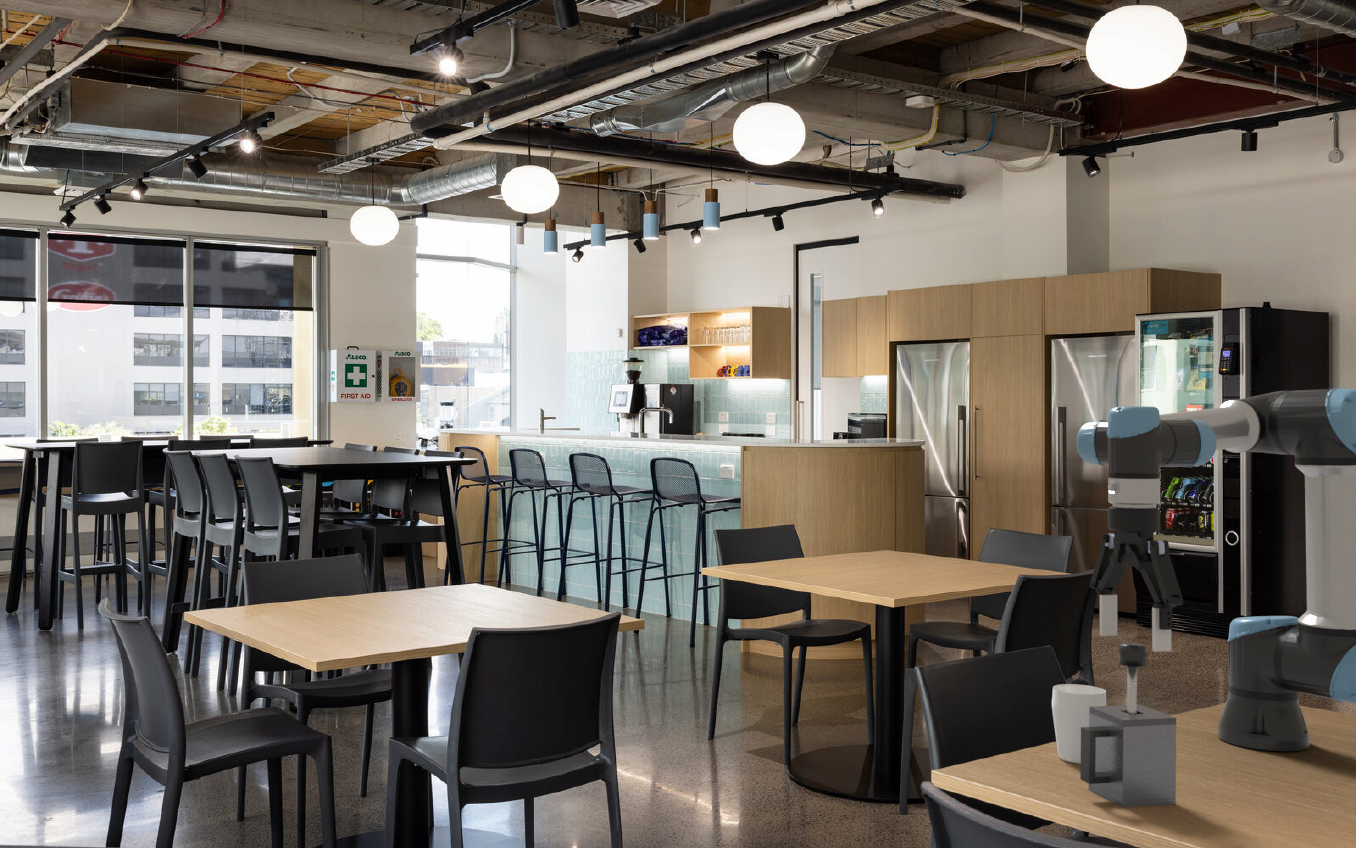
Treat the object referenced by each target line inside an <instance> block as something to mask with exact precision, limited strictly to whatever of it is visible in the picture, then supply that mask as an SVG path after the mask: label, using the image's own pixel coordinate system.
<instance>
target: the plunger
mask: <svg viewBox="0 0 1356 848" xmlns="http://www.w3.org/2000/svg"><path fill="white" fill-rule="evenodd" d="M1118 665H1121V666H1126V667H1127V672H1126V673H1127V674H1126V675H1127V679H1126V680H1127V681H1126V683H1127V685H1126V687H1127V688H1126V689H1127V691H1126V692H1127V693H1126V699H1127V700H1126V705H1127V714H1137V705H1138V668H1139V667H1142V668H1143V667H1146V666H1147V645H1146V644H1143V643H1138V642H1119V643H1118Z"/></svg>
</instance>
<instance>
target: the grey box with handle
mask: <svg viewBox="0 0 1356 848" xmlns="http://www.w3.org/2000/svg"><path fill="white" fill-rule="evenodd" d="M1080 780H1081V781H1082V782H1085V783H1086V784H1088V791H1091V792H1092V793H1095V794H1096V795H1098V796H1101V797H1102V798H1104V799H1106V800H1108V801H1109V802H1112V803H1113V804H1115V805H1117V806H1119V807H1121V808H1133V807H1134V808H1135V807H1150V806H1151V807H1152V806H1164V805H1166V806H1167V805H1176V802H1177V800H1176V798H1177V796H1176V795H1177V717H1175V716H1173V715H1170V714H1166V713H1164V712H1161V711H1159V710H1156V709H1152V708H1150V707H1148V706H1145V705H1141V704H1137V714H1127V704H1123V705H1122V704H1121V705H1107V706H1092V707H1089V727H1081V764H1080Z"/></svg>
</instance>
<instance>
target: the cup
mask: <svg viewBox="0 0 1356 848" xmlns="http://www.w3.org/2000/svg"><path fill="white" fill-rule="evenodd" d="M1092 706H1108V704H1107V691H1106V689H1104V688H1102V687H1098V686H1092V685H1089V684H1088V685H1086V684H1078V683H1077V684H1076V683H1075V684H1074V683H1073V684H1072V683H1065V684H1064V683H1063V684H1056V685H1053V686H1052V697H1051V709H1052V710H1051V711H1052V718H1053V719H1052V720H1053V725H1054V733H1055V740H1056V748H1057V755H1058V758H1059V759H1061V760H1062V761H1065V762H1067V763H1071V764H1079V765H1081V727H1089V707H1092Z"/></svg>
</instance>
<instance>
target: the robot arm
mask: <svg viewBox="0 0 1356 848" xmlns="http://www.w3.org/2000/svg"><path fill="white" fill-rule="evenodd" d="M1076 450H1077V452H1078V455H1079V457H1080V458H1081V459H1082V460H1083V461H1084V462H1086V463H1087V464H1091V465H1099V466H1107V468H1108V472H1107V477H1108V478H1107V479H1108V481H1107V482H1108V485H1107V491H1108V494H1107V495H1108V497H1107V499H1108V500H1107V501H1108V503H1109V504H1112V506H1109V508H1108V509H1107V528H1108V530H1109V531H1112V532H1114V533H1102V534H1101V535H1100V536H1101V539H1100V548H1099V552H1098V555H1097V558H1096V562H1095V565H1094V568H1093V571H1092V572H1093V573H1092V575H1091V579H1090V581H1089V587H1090V588H1091V589H1094V590H1095V591H1096V593H1097V594H1098V612H1099V636H1101V637H1115V636H1116V637H1117V636H1118V591H1117V587H1118V586H1119V583H1120V581H1121V579H1122V578H1123V577H1124V574H1125V573H1126V571H1127V569H1128V567H1129V566H1130V567H1132V568H1135V569H1136V571H1138V572H1140V574H1141V576H1142V578H1143V581H1144V583H1145V584H1146V587H1147V590H1148V591H1149V594H1150V595H1151V597H1152V599H1153V601H1154V603H1153V604H1152V606H1151V607H1152V608H1151V622H1152V623H1151V636H1152V637H1151V640H1152V641H1151V643H1152V644H1151V647H1152V649H1151V651H1152V652H1153V653H1154V652H1155V653H1157V652H1172V629H1173V617H1174V616H1173V612H1174V611H1173V609H1174V608H1176V606H1182V605H1183V604H1184V599H1183V596H1182V591H1181V589H1180V586H1179V582H1178V579H1177V578H1178V577H1177V576H1176V572H1175V570H1174V569H1175V568H1174V565H1173V562H1172V558H1171V556H1170V545H1169V544H1170V543H1169V541H1168V540H1164V539H1162V540H1161V539H1160V540H1155V538H1154V534H1155V533H1157V532H1159V531H1160V529H1161V510H1160V508H1158V507H1157V505H1160V503H1161V478H1160V476H1161V474H1160V473H1161V467H1162V468H1163V467H1164V468H1165V467H1166V468H1168V467H1169V468H1178V467H1180V468H1181V467H1183V468H1189V469H1190V468H1193V467H1199V466H1202V465H1205V464H1207V463H1209V461H1211V459H1213V457H1214V456H1215V453H1216V451H1221V450H1225V451H1227V452H1231V453H1235V454H1236V453H1237V454H1238V453H1239V454H1240V453H1264V454H1275V455H1285V456H1286V455H1287V456H1289V455H1290V456H1294V466H1295V467H1296V469H1297V470H1299V471H1300V472H1301V473H1302V474H1303V475H1304V489H1305V490H1304V493H1305V494H1304V498H1305V499H1304V500H1305V502H1304V503H1305V504H1304V506H1305V508H1304V509H1305V556H1306V558H1305V562H1306V565H1305V566H1306V567H1305V570H1306V611H1305V612H1304V613H1303V614H1302V615H1301V616H1300V617H1297V616H1292V615H1266V616H1265V615H1260V616H1259V615H1258V616H1255V615H1254V616H1243V617H1236V618H1234V619H1232V621H1231V622H1230V623H1229V630H1228V631H1229V632H1228V639H1227V643H1228V645H1227V646H1228V647H1227V649H1228V650H1227V651H1228V652H1227V653H1228V691H1227V692H1228V696H1227V699H1226V702H1225V704H1224V708H1223V710H1222V714H1221V717H1220V720H1219V721H1218V723H1217V737H1218V738H1219V739H1220V740H1222V741H1223V742H1226V743H1228V744H1232V745H1235V746H1239V747H1244V748H1249V749H1255V750H1262V751H1271V752H1299V751H1301V752H1302V751H1305V750H1308V749H1309V748H1310V732H1309V730H1308V729H1307V725H1306V721H1305V717H1304V714H1303V711H1302V708H1301V706H1300V701H1299V700H1300V699H1299V697H1300V695H1299V694H1300V693H1301V694H1307V695H1312V696H1316V697H1320V698H1324V699H1328V700H1329V699H1330V700H1333V701H1335V702H1338V703H1342V702H1344V703H1345V702H1346V703H1350V704H1351V703H1352V704H1356V388H1341V387H1336V388H1327V389H1326V388H1324V389H1303V390H1302V389H1301V390H1298V389H1296V390H1280V391H1279V390H1277V391H1273V392H1268V393H1264V394H1263V393H1262V394H1259V395H1255V396H1250V397H1245V398H1240V399H1233V400H1228V401H1225V402H1223V403H1222V404H1220V405H1219V406H1218V407H1213V408H1204V409H1196V410H1189V411H1188V410H1187V411H1181V412H1180V411H1179V412H1173V413H1164V414H1160V410H1159V409H1158V408H1157V407H1155V406H1137V405H1135V406H1115V407H1113V408H1111V409H1109V412H1108V420H1104V419H1100V420H1096V421H1095V420H1093V421H1091V420H1090V421H1088V422H1086V423H1084V424H1083V425H1082V426H1081V427H1080V429H1079V430H1078V432H1077V435H1076Z"/></svg>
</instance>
